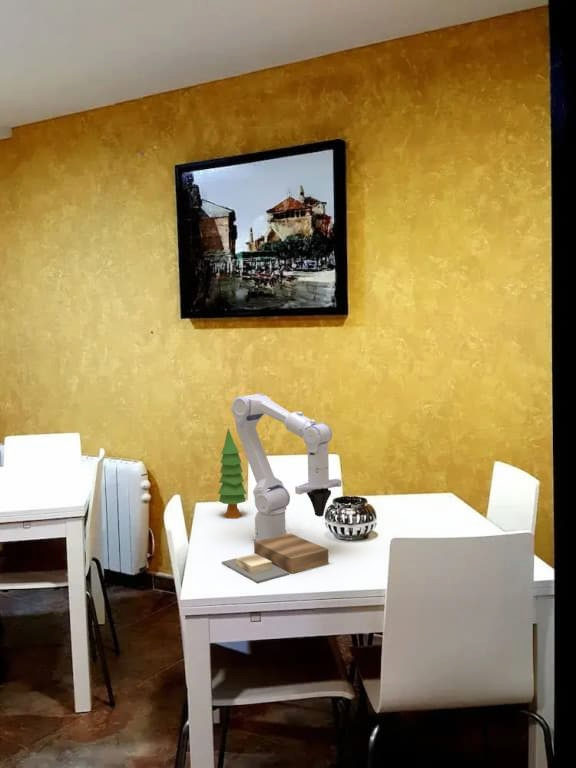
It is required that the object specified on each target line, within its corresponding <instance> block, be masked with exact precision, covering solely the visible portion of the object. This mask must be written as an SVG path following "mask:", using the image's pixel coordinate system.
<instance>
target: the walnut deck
mask: <svg viewBox="0 0 576 768" xmlns="http://www.w3.org/2000/svg"><path fill="white" fill-rule="evenodd" d="M253 547H254V548H253V549H254V550H253V551H254V552H253V554H257V555H259V556H261V557H263V558H266V559H268V560H270V561H272V564H273V565H275V566H277V567H279V568H281V569H283V570H285V571H287V572H289V574H291V575H292V574H297V573H300V572H303V571H308V570H311V569H314V568H318V567H323V566H326V565H328V564H329V549H328V548H326V547H324V546H321V545H319V544H316V543H314V542H311V541H309V540H307V539H304V538H302V537H300V536H298V535H295V534H292V533H289V532H288V533H286V534H284V535H280V536H276V537H271V538H267V539H263V540H258V541H256V540H253Z"/></svg>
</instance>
